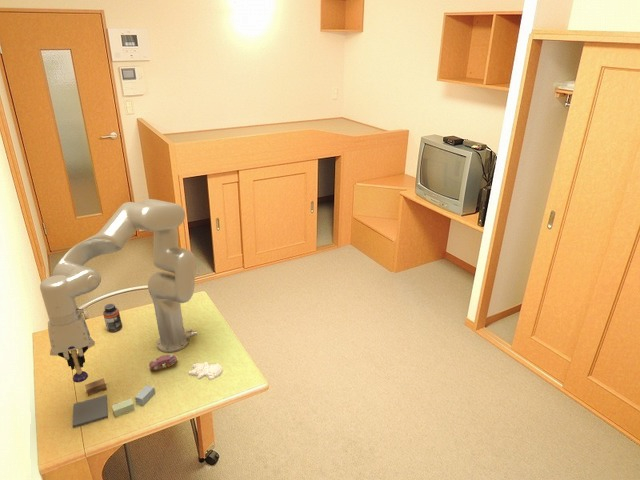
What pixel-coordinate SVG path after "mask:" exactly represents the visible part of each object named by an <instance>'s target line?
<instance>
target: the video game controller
mask: <svg viewBox="0 0 640 480" xmlns="http://www.w3.org/2000/svg"><path fill="white" fill-rule="evenodd" d="M177 362H178V358H177V356H176V355H175V354H173V353H172V354H168V355H166V354H164V355H161V356H159V357H157V358H154V359H152V360H151V361H150V362H149V365H148V366H149V369H150V370H156V371H160V370H162V369H163V368H164V365H165V367H166V368H169V367H172V365H174V364H175V363H177Z"/></svg>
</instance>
